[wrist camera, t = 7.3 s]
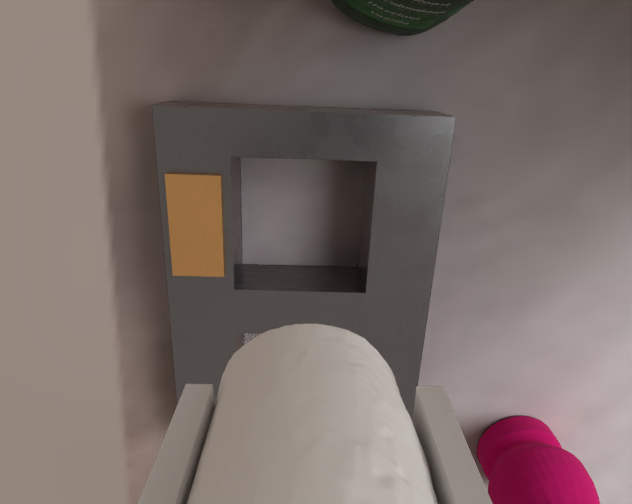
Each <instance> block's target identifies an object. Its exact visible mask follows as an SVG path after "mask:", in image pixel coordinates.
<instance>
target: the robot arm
mask: <svg viewBox="0 0 632 504" xmlns="http://www.w3.org/2000/svg"><path fill="white" fill-rule="evenodd" d="M213 411H214V395H213V384H186V385H185V387H184V390H183V392H182V395H181V397H180V400H179V402H178V405H177V407H176V410H175V412H174V415H173V417H172V420H171V422H170V425H169V427H168V430H167V432H166V435H165V437H164V440H163V442H162V445H161V447H160V450H159V452H158V455H157V457H156V460H155V462H154V465H153V467H152V470H151V472H150V475H149V477H148V480H147V482H146V485H145V487H144V489H143V492H142V494H141V497H140V499H139V502H138V504H187V501H188V497H189V494H190V491H191V488H192V484H193V481H194V478H195V474H196V470H197V466H198V463H199V460H200V457H201V453H202V450H203V447H204V443H205V439H206V436H207V433H208V429H209V426H210V422H211V419H212V415H213ZM412 423H413V425H414V428H415V430H416V433H417V435H418V438H419V441H420V443H421V446H422V448H423V451H424V453H425V456H426V459H427V462H428V466H429V470H430V473H431V478H432V483H433V489H434V491H435V494H436V498H437V503H438V504H493V503H492V501H491V499H490V496H489V494H488V491H487V489H486V487H485V484H484V482H483V480H482V477H481V475H480V473H479V470H478V468H477V465H476V463H475V461H474V458H473V456H472V454H471V451H470V449H469V447H468V444H467V442H466V440H465V437H464V435H463V432H462V430H461V428H460V425H459V423H458V421H457V418H456V416H455V414H454V411H453V409H452V406H451V404H450V402H449V399H448V397H447V395H446V392H445V390H444V388H443V386H416V394H415V403H414V411H413V419H412Z"/></svg>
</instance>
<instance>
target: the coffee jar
mask: <svg viewBox="0 0 632 504" xmlns="http://www.w3.org/2000/svg"><path fill="white" fill-rule="evenodd" d="M472 1H474V0H332V2H333V3H334V4H335V5H336V7H337V8H338V9H339V10H340V11H342V12H343V13H344V14H346V15H347V16H349V17H350V18H352V19H354V20H356V21H358V22H360V23H363V24H365V25H367V26H369V27H372V28H374V29H377V30H380V31H383V32H387V33H391V34H396V35H406V36H407V35H415V34H419V33H422V32H425V31H427V30H429V29H431V28H433V27H435V26H437V25H438V24H440V23H442V22H443V21H445V20H447V19H448V18H449V17H451V16H452V15H454V14H455V13H456V12H458V11H459V10H460V9H462V8H463V7H465V6H466V5H468V4H469V3H470V2H472Z"/></svg>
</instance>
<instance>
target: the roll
mask: <svg viewBox="0 0 632 504" xmlns="http://www.w3.org/2000/svg"><path fill="white" fill-rule="evenodd" d="M187 504H438V503H437V498H436V494H435V491H434V489H433V483H432V478H431V473H430V470H429V466H428V462H427V459H426V456H425V453H424V451H423V448H422V446H421V443H420V441H419V438H418V435H417V433H416V430H415V428H414V425H413V423H412V420H411V418H410V415H409V413H408V412H407V410H406V408H405V405H404V403H403V401H402V398H401V396H400V393H399V388H398V386H397V384H396V380H395V377H394V375H393V372H392V370H391V369H390V367H389V365H388V364H387V362H386V361H385V360H384V359H383V357H382V356H381V355H380V353H379V352H378V351H377V350H376V349H375V348H374V347H373V346H372V345H371V344H370V343H369V342H368V341H367V340H366V339H365V338H363V337H361V336H359V335H358V334H355V333H353V332H351V331H349V330H346V329H342V328H338V327H334V326H328V325H323V324H293V325H286V326H282V327H280V328H277V329H271V330H269V331H266V332H264V333H261V334H259V335H258V336H256V337H255V338H253V339H252V340H251V341H249V342H247V343H246V344H245V345H243V346H242V347H241V348H240V349H239V350H238V351H236V352H235V353H234V354H233V356H232V357H231V359H230V360H229V362H228V364H227V366H226V369H225V371H224V373H223V375H222V378H221V382H220V386H219V390H218V395H217V399H216V403H215V407H214V411H213V415H212V419H211V422H210V426H209V429H208V433H207V436H206V439H205V443H204V447H203V450H202V453H201V457H200V460H199V463H198V466H197V470H196V474H195V478H194V481H193V484H192V488H191V491H190V494H189V497H188V501H187Z"/></svg>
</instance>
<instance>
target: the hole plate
mask: <svg viewBox="0 0 632 504" xmlns="http://www.w3.org/2000/svg"><path fill="white" fill-rule="evenodd" d="M152 114H153V125H154V137H155V149H156V161H157V173H158V185H159V196H160V208H161V220H162V232H163V244H164V256H165V267H166V279H167V291H168V303H169V315H170V326H171V338H172V350H173V362H174V374H175V386H176V397H177V405H178V402H179V400H180V397H181V395H182V392H183V390H184V387H185V385H186V384H213V395H214V407H215V403H216V399H217V395H218V390H219V386H220V382H221V378H222V375H223V373H224V371H225V369H226V366H227V364H228V362H229V360H230V359H231V357H232V356H233V354H234V353H235V352H236V351H238V350H239V349H240V348H241V347H242V346H243V345H244V333H264V332H266V331H269V330H271V329H277V328H280V327H282V326H286V325H293V324H323V325H328V326H334V327H338V328H342V329H346V330H349V331H351V332H353V333H355V334H358V335H359V336H361V337H363V338H365V339H366V340H367V341H368V342H369V343H370V344H371V345H372V346H373V347H374V348H375V349H376V350H377V351H378V352H379V353H380V355H381V356H382V357H383V359H384V360H385V361H386V362H387V364H388V365H389V367H390V369H391V370H392V372H393V375H394V377H395V380H396V384H397V386H398V388H399V393H400V396H401V398H402V401H403V403H404V405H405V408H406V410H407V412H408V413H409V415H410V418H411V420H412V419H413V411H414V403H415V394H416V386H418V379H419V372H420V365H421V358H422V351H423V344H424V337H425V330H426V323H427V316H428V309H429V302H430V295H431V288H432V281H433V274H434V267H435V260H436V253H437V246H438V239H439V232H440V225H441V218H442V211H443V204H444V197H445V190H446V183H447V176H448V169H449V162H450V155H451V148H452V141H453V134H454V127H455V120H456V117H454V116H450V115H446V114H443V113H439V112H432V111H407V110H382V109H357V108H332V107H307V106H281V105H256V104H231V103H206V102H181V101H171V102H165V103H160V104H155V105H152ZM240 157H264V158H292V159H319V160H347V161H367V167H366V180H365V192H364V205H363V218H362V230H361V243H360V256H359V267H323V266H286V265H250V264H242V213H241V162H240Z"/></svg>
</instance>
